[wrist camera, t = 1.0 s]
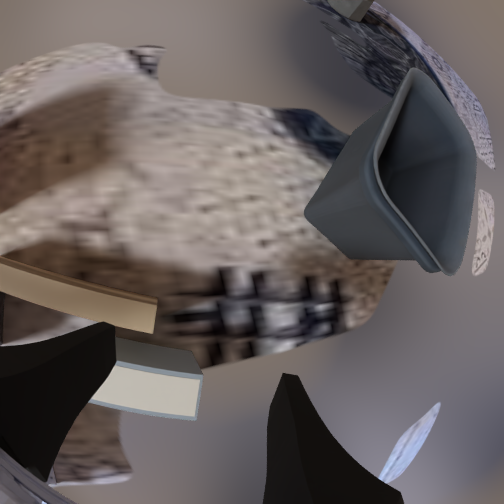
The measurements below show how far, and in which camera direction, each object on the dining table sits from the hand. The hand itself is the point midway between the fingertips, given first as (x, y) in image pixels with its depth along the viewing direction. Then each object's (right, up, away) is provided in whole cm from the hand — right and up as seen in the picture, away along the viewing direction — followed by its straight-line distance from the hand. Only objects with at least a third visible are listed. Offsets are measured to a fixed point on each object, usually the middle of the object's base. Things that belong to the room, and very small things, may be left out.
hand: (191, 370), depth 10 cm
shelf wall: (-15, +2, +11) cm, 19 cm away
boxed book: (-8, -6, +13) cm, 16 cm away
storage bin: (+16, +12, +23) cm, 31 cm away
